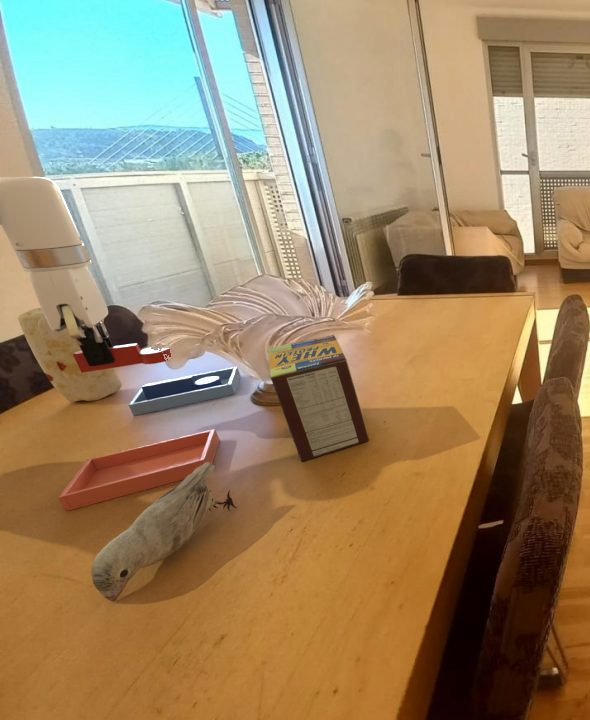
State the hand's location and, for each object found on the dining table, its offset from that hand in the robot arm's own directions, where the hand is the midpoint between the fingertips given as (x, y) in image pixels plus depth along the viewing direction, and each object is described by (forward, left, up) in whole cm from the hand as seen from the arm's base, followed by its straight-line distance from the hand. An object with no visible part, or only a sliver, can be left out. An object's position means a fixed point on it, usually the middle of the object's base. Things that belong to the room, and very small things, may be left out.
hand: (104, 361), depth 84 cm
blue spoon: (+6, +12, -13) cm, 19 cm away
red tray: (+6, -21, -13) cm, 26 cm away
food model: (-12, +23, -14) cm, 29 cm away
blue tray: (+6, +12, -13) cm, 19 cm away
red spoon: (+3, 0, -1) cm, 3 cm away
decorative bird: (+13, -45, -14) cm, 49 cm away
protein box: (+31, -24, -14) cm, 42 cm away
